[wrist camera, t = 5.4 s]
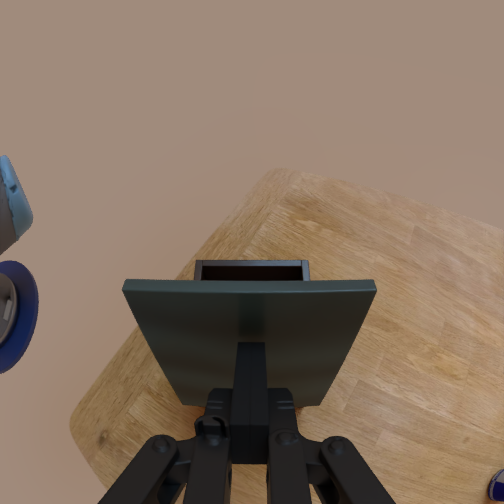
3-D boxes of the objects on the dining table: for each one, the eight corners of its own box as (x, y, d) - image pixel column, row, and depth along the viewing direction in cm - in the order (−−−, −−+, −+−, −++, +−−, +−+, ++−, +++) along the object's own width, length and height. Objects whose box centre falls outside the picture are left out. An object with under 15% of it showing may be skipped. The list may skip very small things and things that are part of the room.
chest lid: (125, 278, 15) (120, 289, 14) (373, 278, 14) (378, 290, 14) (183, 397, 25) (182, 405, 25) (318, 398, 25) (319, 405, 25)
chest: (206, 292, 41) (195, 259, 34) (298, 292, 41) (308, 259, 34) (199, 406, 33) (184, 401, 26) (303, 407, 33) (318, 402, 25)
